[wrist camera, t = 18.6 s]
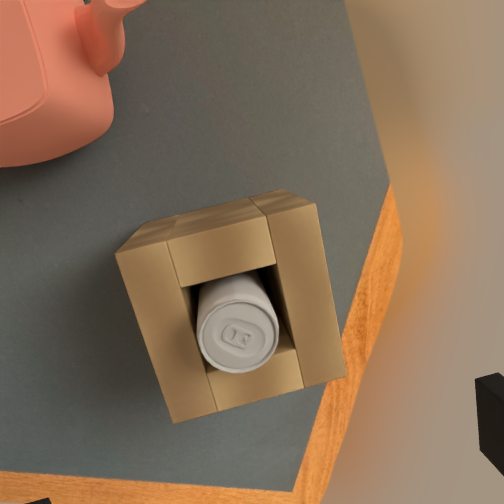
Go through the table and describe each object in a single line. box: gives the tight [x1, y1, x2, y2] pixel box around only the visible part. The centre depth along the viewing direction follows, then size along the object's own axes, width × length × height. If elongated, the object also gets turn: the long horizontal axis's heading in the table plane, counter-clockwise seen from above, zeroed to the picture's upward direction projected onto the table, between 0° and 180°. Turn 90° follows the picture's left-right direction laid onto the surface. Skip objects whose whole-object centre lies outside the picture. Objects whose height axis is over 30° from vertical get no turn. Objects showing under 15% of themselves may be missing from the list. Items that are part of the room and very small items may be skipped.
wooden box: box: [114, 189, 347, 424], centre depth 28 cm, size 12×12×10 cm
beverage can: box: [197, 269, 279, 373], centre depth 27 cm, size 5×5×12 cm
